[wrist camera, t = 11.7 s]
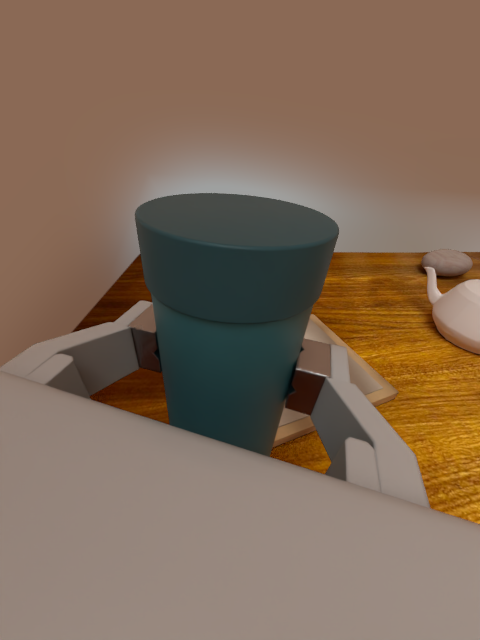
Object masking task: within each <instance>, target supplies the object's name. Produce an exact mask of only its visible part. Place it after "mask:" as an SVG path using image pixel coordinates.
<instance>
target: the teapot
mask: <svg viewBox="0 0 480 640" xmlns="http://www.w3.org/2000/svg"><path fill="white" fill-rule="evenodd" d="M424 269H425V270H426V272H427V278H428V281H427V294H428V298H429V301H430V303H431V304H432V305H433V310H432V316H433V320H434V322H435V324H436V327H437V330H438V331H439V333H440V334H441V335H442V336H443V337H444V338H445V339H446V340H448V341H450V342H452V343H453V344H455V345H457V346H459V347H461V348H463V349H465V350H467V351H470V352H473V353H476V354H479V355H480V280H467V281H465V282H463V283H461V284H459V285H457V286H456V287H454V288H453V289H451V290H450V291H449V292H447V293H446V294H441V293H440V292H439V290H438V289H437V285H436V273H435V269H434V268H432V267H424Z"/></svg>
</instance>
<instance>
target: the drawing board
mask: <svg viewBox="0 0 480 640" xmlns="http://www.w3.org/2000/svg"><path fill="white" fill-rule="evenodd" d="M304 338H305V339H309V340H313V341H318V342H322V343H327V344H334V345H339V346H344V347H346V348H347V354H348V364H349V374H350V383H352V384H355V385H356V386H357V387H358V388H359V389H360V390H361V392H362V393H363V394H364V395H365V396H366V398H367V399H368V400H369V401H370V402H371V403H372V405H373V406H374V407H375V406H377V405H380V404H382V403H385V402H387V401H390V400H392V399H395V397H396V396H397V394H398V393H399V392H398V391H397V390H396V389H395V388H394V387H393V386H391V385H390V384H389V383H388V382H387V381H386V380H385V379H384V378H383V377H382V376H381V375H379V374H378V373H377V372H376V371H375V370H374V369H373V368H372V367H371V366H370V365H368V364H367V363H366V362H365V361H364V360H363V359H362V358H361V357H360V356H359V355H357V354H356V353H355V352H354V351H353V350H352V349H351V348H350V347H349V346H348V345H346V344H345V343H344V342H343V341H342V340H341V339H340V338H339V337H338V336H337V335H336V334H334V333H333V332H332V331H331V330H330V329H329V328H328V327H327V326H326V325H325V324H323V323H322V322H321V321H320V320H319V319H318V318H317V317H316V316H315V315H314V314H311V315H310V318H309V321H308V325H307V328H306V332H305V335H304ZM285 403H286V402H285ZM315 430H316V428H315V426H314V424H313V422H312V420H311V418H310V415H306V414H303V413H300V412H297V411H293V410H290V409H287V408H285V405H284V409H283V412H282V416H281V419H280V423H279V426H278V430H277V433H276V437H275V440H274V444H273V447H275V446H278V445H280V444H283V443H285V442H288V441H290V440H293V439H295V438H298V437H300V436H303V435H305V434H308V433H310V432H313V431H315ZM273 447H272V448H273Z"/></svg>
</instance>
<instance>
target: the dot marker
mask: <svg viewBox="0 0 480 640" xmlns="http://www.w3.org/2000/svg"><path fill="white" fill-rule="evenodd" d="M135 220H136V227H137V234H138V240H139V247H140V253H141V260H142V266H143V272H144V279H145V283H146V286H147V288H148V289H149V291H150V292H151V296H152V303H153V310H154V317H155V324H156V331H157V338H158V345H159V352H160V359H161V366H162V373H163V380H164V387H165V394H166V401H167V408H168V415H169V422H170V425H171V426H174V427H178V428H181V429H184V430H187V431H190V432H193V433H196V434H199V435H203V436H206V437H209V438H212V439H215V440H218V441H221V442H224V443H228V444H231V445H234V446H237V447H240V448H243V449H246V450H250V451H253V452H256V453H259V454H262V455H265V456H268V457H270V454H271V451H272V447H273V444H274V440H275V437H276V433H277V430H278V426H279V423H280V419H281V416H282V412H283V409H284V405H285V402H286V396H287V393H288V389H289V386H290V383H291V380H292V376H293V372H294V368H295V365H296V361H297V358H298V356H299V353H300V349H301V346H302V342H303V339H304V335H305V332H306V328H307V325H308V321H309V318H310V315H311V311H312V308H313V304H314V303H315V302H316V301H317V300H318V299H319V296H320V294H321V291H322V288H323V285H324V281H325V278H326V275H327V271H328V268H329V265H330V261H331V258H332V255H333V251H334V248H335V244H336V241H337V238H338V234H339V228H338V225H337V224H336V223H335V221H333V220H332V219H331V218H329V217H328V216H326V215H324V214H323V213H320V212H318V211H316V210H313V209H311V208H308V207H304V206H301V205H297V204H293V203H290V202H285V201H281V200H276V199H270V198H263V197H256V196H247V195H237V194H218V193H213V194H212V193H199V194H181V195H173V196H167V197H162V198H157V199H154V200H151V201H148V202H146V203H144V204H142V205H140V206H139V207H138V208H137V210H136V212H135Z"/></svg>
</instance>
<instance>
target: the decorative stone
mask: <svg viewBox="0 0 480 640" xmlns="http://www.w3.org/2000/svg"><path fill="white" fill-rule="evenodd" d="M421 263H422V266H423V268H424V267H432V268H434V269H435V273H436V275H437V276H457V275H461V274H464V273H466V272H467V271H469V270H470V269H471V267H472V260H471V259H470V258H469V257H468V256H467V255H466V254H464V253H462V252H459V251H456V250H451V249H439V250H434V251H431V252H429V253H427V254H426V255H425V256H424V257H423V258H422V261H421Z"/></svg>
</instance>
